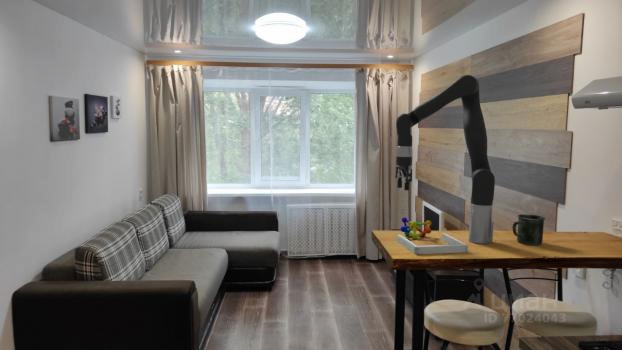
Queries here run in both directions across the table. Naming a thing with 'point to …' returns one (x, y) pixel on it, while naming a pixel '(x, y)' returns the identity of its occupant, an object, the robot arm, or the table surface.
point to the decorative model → (415, 226)
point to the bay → (435, 246)
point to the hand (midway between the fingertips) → (403, 189)
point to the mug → (529, 229)
